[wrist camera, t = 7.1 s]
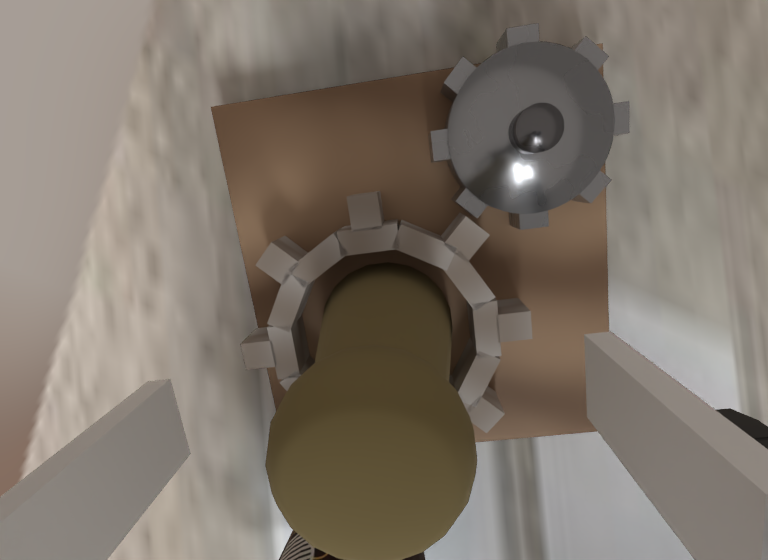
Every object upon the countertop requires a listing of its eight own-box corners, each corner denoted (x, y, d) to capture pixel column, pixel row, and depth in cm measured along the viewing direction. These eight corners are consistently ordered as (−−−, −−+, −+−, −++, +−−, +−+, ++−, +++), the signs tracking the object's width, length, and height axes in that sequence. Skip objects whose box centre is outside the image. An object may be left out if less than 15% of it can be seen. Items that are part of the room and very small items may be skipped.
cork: (373, 235, 19) (331, 308, 8) (479, 315, 19) (570, 481, 9) (297, 336, 20) (175, 516, 9) (399, 408, 21) (392, 653, 10)
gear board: (597, 413, 22) (632, 456, 18) (292, 441, 23) (272, 486, 20) (586, 54, 18) (628, 25, 15) (223, 112, 19) (184, 98, 16)
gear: (608, 212, 18) (650, 219, 15) (438, 234, 19) (445, 245, 16) (604, 26, 17) (650, -10, 13) (419, 56, 17) (422, 29, 14)
